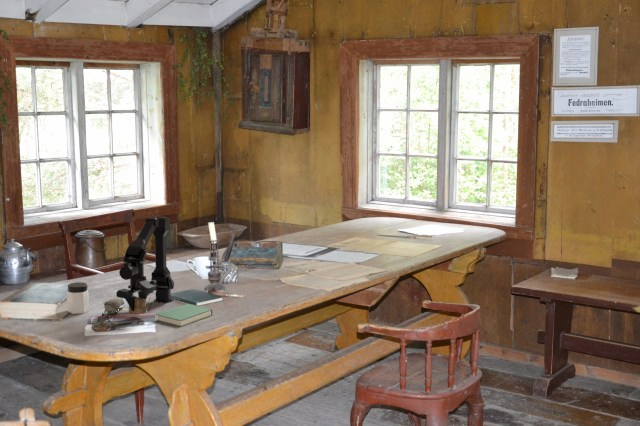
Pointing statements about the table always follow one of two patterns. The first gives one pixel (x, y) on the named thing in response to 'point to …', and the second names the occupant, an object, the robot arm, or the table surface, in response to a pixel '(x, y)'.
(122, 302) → the decorative bird
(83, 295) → the jar
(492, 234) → the table surface
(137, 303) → the walnut block
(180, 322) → the green book
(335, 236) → the table surface
